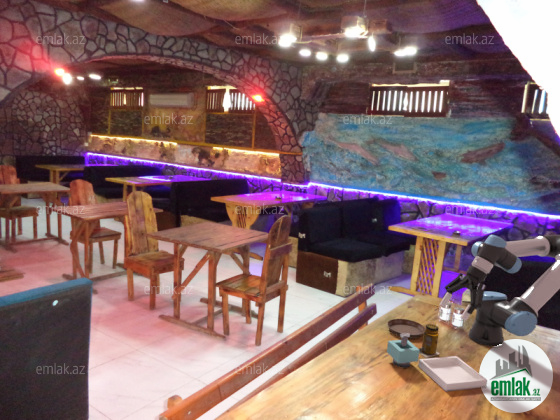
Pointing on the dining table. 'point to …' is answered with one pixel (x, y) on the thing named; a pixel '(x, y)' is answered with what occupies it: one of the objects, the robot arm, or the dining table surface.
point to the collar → (403, 352)
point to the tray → (452, 373)
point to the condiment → (429, 341)
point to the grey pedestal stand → (403, 346)
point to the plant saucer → (406, 327)
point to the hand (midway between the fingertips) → (451, 312)
